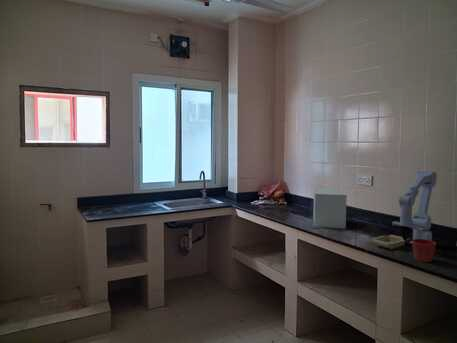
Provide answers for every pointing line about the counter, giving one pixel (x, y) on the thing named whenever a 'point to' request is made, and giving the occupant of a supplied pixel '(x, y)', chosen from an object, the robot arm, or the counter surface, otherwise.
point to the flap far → (377, 237)
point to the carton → (389, 241)
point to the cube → (329, 208)
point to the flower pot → (423, 249)
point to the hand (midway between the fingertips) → (404, 239)
